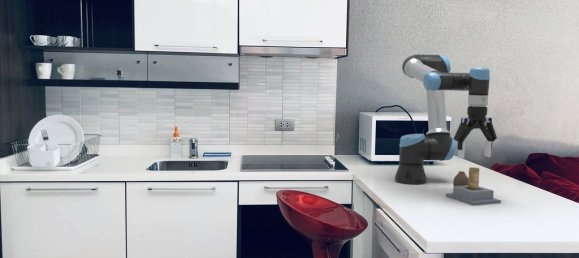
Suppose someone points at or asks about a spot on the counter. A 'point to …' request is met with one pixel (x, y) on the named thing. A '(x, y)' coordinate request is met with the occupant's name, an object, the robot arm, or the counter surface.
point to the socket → (473, 195)
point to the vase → (460, 179)
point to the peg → (473, 178)
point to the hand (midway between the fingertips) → (474, 157)
